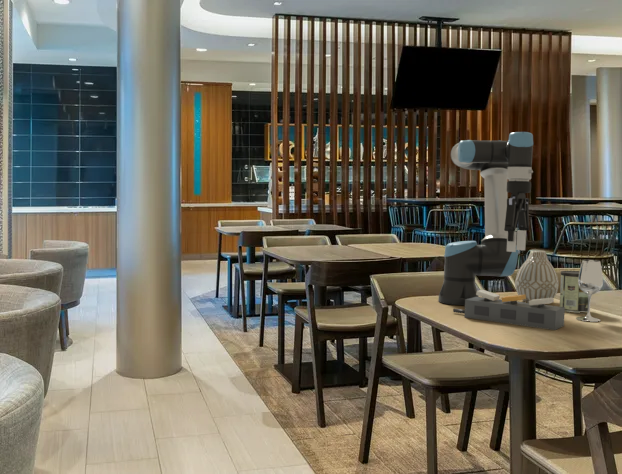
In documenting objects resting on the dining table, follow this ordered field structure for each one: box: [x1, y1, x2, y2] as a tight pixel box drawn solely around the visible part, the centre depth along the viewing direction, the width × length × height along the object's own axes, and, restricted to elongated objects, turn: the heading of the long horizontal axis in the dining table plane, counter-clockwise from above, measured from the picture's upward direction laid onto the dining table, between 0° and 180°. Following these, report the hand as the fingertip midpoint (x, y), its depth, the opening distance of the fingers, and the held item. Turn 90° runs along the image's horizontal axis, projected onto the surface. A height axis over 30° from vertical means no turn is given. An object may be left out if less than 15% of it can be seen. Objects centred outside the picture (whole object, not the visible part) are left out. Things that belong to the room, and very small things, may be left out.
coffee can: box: [559, 270, 588, 314], centre depth 244 cm, size 10×10×14 cm
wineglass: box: [575, 259, 604, 323], centre depth 226 cm, size 8×8×20 cm
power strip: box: [452, 296, 566, 331], centre depth 223 cm, size 36×9×7 cm, turn 53°
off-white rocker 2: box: [529, 298, 555, 305], centre depth 215 cm, size 6×4×1 cm
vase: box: [514, 249, 559, 303], centre depth 261 cm, size 16×16×20 cm
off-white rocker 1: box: [476, 289, 501, 301], centre depth 226 cm, size 6×4×1 cm
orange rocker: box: [501, 294, 526, 302], centre depth 221 cm, size 6×4×1 cm
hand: (516, 250), depth 220 cm, fingers open, 8 cm apart
